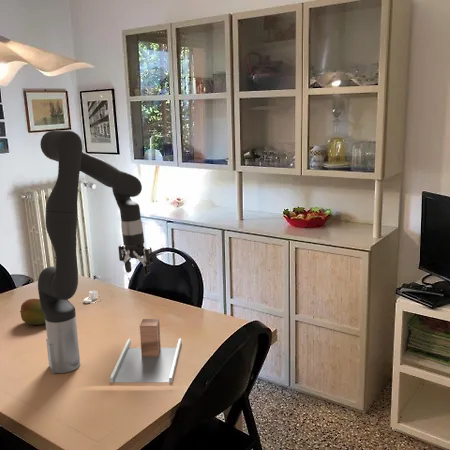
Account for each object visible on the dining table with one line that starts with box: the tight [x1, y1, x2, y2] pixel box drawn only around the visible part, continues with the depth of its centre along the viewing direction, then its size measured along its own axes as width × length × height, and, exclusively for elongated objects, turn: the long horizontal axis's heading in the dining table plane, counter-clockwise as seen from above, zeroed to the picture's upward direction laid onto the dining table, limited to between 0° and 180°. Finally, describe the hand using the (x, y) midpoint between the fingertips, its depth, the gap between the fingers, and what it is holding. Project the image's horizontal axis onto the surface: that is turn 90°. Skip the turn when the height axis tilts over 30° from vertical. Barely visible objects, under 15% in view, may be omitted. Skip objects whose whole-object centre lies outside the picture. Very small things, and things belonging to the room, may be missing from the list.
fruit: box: [19, 298, 46, 326], centre depth 194 cm, size 12×13×10 cm
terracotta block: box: [139, 318, 162, 357], centre depth 167 cm, size 6×6×11 cm
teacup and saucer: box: [83, 289, 99, 304], centre depth 218 cm, size 9×8×4 cm
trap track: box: [109, 338, 182, 384], centre depth 163 cm, size 26×19×2 cm
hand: (137, 273), depth 185 cm, fingers open, 8 cm apart
